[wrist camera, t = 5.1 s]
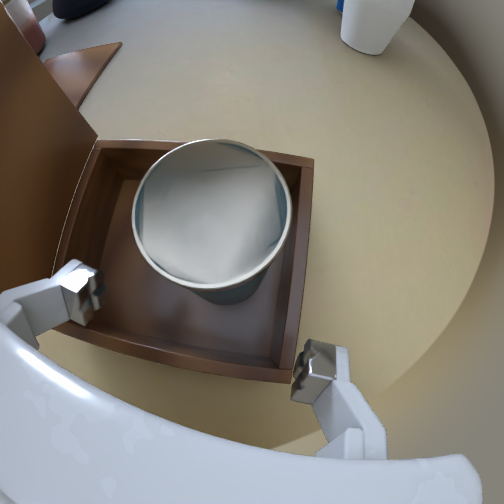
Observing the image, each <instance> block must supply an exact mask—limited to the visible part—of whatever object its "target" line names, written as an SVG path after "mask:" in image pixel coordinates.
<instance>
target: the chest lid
mask: <svg viewBox="0 0 504 504" xmlns="http://www.w3.org/2000/svg"><path fill="white" fill-rule="evenodd" d="M97 137H98V135H97V134H96V133H95V131H94V130H93V129H92V128H91V126H90V125H89V124H88V123H87V121H86V120H85V119H84V117H83V116H82V115H81V114H80V112H79V111H78V110H77V108H76V107H75V106H74V105H73V103H72V102H71V101H70V99H69V98H68V97H67V95H66V94H65V93H64V91H63V90H62V89H61V88H60V86H59V85H58V84H57V82H56V81H55V79H54V78H53V77H52V75H51V74H50V73H49V71H48V70H47V69H46V67H45V66H44V64H43V63H42V62H41V60H40V59H39V57H38V56H37V55H36V53H35V52H34V50H33V49H32V47H31V46H30V45H29V43H28V42H27V40H26V39H25V37H24V36H23V34H22V33H21V31H20V30H19V28H18V27H17V25H16V24H15V22H14V21H13V19H12V18H11V16H10V15H9V13H8V12H7V10H6V8H5V7H4V5H3V4H2V2H1V0H0V294H1V293H2V292H3V291H6V290H9V289H12V288H16V287H19V286H22V285H26V284H29V283H32V282H36V281H39V280H42V279H46V278H48V279H50V278H51V275H52V270H53V266H54V261H55V257H56V253H57V249H58V245H59V241H60V237H61V234H62V230H63V226H64V223H65V220H66V216H67V213H68V210H69V207H70V204H71V201H72V198H73V195H74V192H75V190H76V187H77V184H78V182H79V179H80V176H81V174H82V171H83V169H84V166H85V164H86V161H87V159H88V157H89V154H90V152H91V150H92V148H93V145H94V143H95V141H96V139H97Z"/></svg>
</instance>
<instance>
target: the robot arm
mask: <svg viewBox="0 0 504 504" xmlns="http://www.w3.org/2000/svg"><path fill="white" fill-rule="evenodd" d="M104 280H105V277H104V272H102V271H101V270H99V269H96V268H94V267H92V266H90V265H88V264H85V263H83V262H81V261H79V260H76V259H73V260H71V261H70V262H68V263H67V264H66V265H65V266H64V267H63V268H61V269H60V270H59V271H58V272H57V273H56V274H55V275H54V276H52V277H51V278H50V279H48V278H46V279H42V280H39V281H36V282H32V283H29V284H26V285H22V286H19V287H16V288H12V289H9V290H6V291H3V292H2V293H1V294H0V504H483V493H482V483H481V478H480V476H479V474H478V472H477V471H476V469H475V468H474V467H473V465H472V464H471V463H470V461H469V460H468V459H467V458H466V457H465V456H464V455H462V454H452V455H445V456H438V457H429V458H419V459H402V460H388V450H387V433H386V429H385V427H384V426H383V424H382V423H381V421H380V420H379V419H378V417H377V416H376V414H375V413H374V412H373V410H372V408H371V407H370V406H369V404H368V403H367V401H366V400H365V398H364V397H363V396H362V394H361V393H360V391H359V390H358V388H357V387H356V386H355V384H353V383H351V379H350V364H349V351H348V348H347V347H342V346H338V345H333V344H329V343H324V342H320V341H316V340H312V339H308V340H307V342H306V343H305V345H304V351H303V352H301V353H300V354H299V356H298V358H297V360H296V363H295V366H294V371H293V377H294V378H295V381H294V383H293V384H292V388H291V396H290V400H292V401H296V402H301V403H305V404H310V405H311V407H312V409H313V411H314V413H315V415H316V418H317V420H318V422H319V424H320V426H321V428H322V430H323V433H324V435H325V437H326V439H327V441H328V444H327V445H326V446H324V447H323V448H321V449H320V450H319V451H317V452H316V453H315V456H306V455H298V454H293V453H286V452H280V451H275V450H270V449H265V448H260V447H255V446H251V445H246V444H242V443H238V442H234V441H230V440H227V439H223V438H220V437H216V436H213V435H209V434H206V433H203V432H200V431H197V430H194V429H191V428H188V427H185V426H182V425H179V424H177V423H174V422H171V421H169V420H166V419H163V418H161V417H158V416H156V415H153V414H151V413H149V412H146V411H144V410H142V409H139V408H137V407H135V406H133V405H131V404H128V403H126V402H124V401H122V400H120V399H118V398H116V397H114V396H112V395H110V394H108V393H106V392H104V391H102V390H100V389H99V388H97V387H95V386H93V385H91V384H89V383H88V382H86V381H84V380H82V379H81V378H79V377H77V376H76V375H74V374H72V373H71V372H69V371H67V370H66V369H64V368H63V367H61V366H60V365H58V364H56V363H55V362H53V361H52V360H50V359H49V358H47V357H46V356H45V355H43V354H42V353H40V352H39V351H37V350H38V349H39V344H38V341H37V339H36V336H38V335H40V334H42V333H44V332H46V331H48V330H50V329H52V328H54V327H56V326H58V325H60V324H62V323H64V322H66V321H68V320H70V319H71V320H73V321H75V322H77V323H79V324H81V325H83V326H86V325H87V323H88V322H89V321H90V320H91V319H92V317H93V316H94V311H95V310H98V309H100V308H101V306H102V305H103V304H104V301H105V299H106V293H107V292H106V287H105V285H104V284H103V281H104Z"/></svg>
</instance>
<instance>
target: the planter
mask: <svg viewBox="0 0 504 504" xmlns="http://www.w3.org/2000/svg"><path fill="white" fill-rule="evenodd" d="M2 4H3V5H4V7H5V8H6V10H7V12H8V13H9V15H10V16H11V18H12V19H13V21H14V22H15V24H16V25H17V27H18V28H19V30H20V31H21V33H22V34H23V36H24V37H25V39H26V40H27V42H28V43H29V45H30V46H31V47H32V49H33V50H34V52H35V53H36V55H38V53H39V52H40V51H41V49H42V47H43V46H44V44H45V41H46V37H45V34H44V32H43V30H42V28H41V27H40V25H39V23H38V21H37V19H36V17H35V16H34V14H33V12H32V10H31V8H30V6H29V4H28V2H27V0H5V1H3V2H2Z"/></svg>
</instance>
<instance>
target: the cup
mask: <svg viewBox="0 0 504 504" xmlns="http://www.w3.org/2000/svg"><path fill="white" fill-rule="evenodd" d="M414 1H415V0H344V6H343V16H342V25H341V33H340V36H341V39H342V40H343V41H344V42H345V43H346V44H347V45H349V46H350V47H352V48H354V49H356V50H358V51H360V52H363V53H366V54H371V55H379V54H381V53H382V52H383V50H384V49H385V48H386V46H387V45H388V44H389V42H390V41H391V39H392V38H393V37H394V35H395V34H396V33H397V31H398V30H399V28H400V27H401V26H402V24H403V23H404V21H405V20H406V19H407V17H408V16H409V14H410V12H411V9H412V7H413V4H414Z"/></svg>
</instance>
